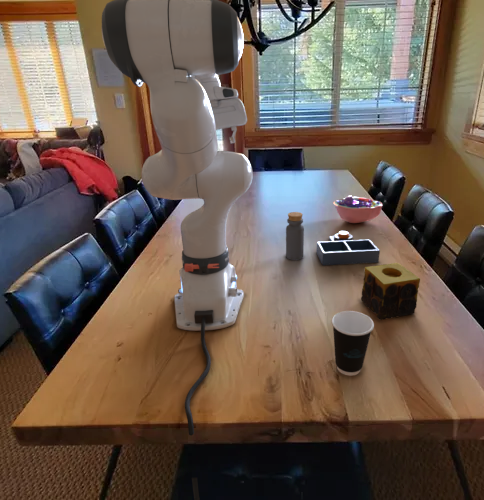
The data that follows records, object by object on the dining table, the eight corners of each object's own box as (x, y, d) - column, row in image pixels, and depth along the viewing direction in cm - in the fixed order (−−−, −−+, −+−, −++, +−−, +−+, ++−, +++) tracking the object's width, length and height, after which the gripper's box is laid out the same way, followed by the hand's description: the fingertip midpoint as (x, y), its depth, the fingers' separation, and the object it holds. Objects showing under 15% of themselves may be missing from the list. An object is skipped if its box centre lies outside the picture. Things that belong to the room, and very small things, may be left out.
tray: (378, 262, 121) (379, 250, 119) (322, 265, 119) (322, 253, 118) (368, 250, 129) (369, 239, 128) (316, 253, 128) (316, 241, 126)
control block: (357, 248, 131) (358, 240, 130) (335, 249, 131) (335, 241, 129) (349, 238, 140) (350, 230, 139) (328, 239, 140) (329, 231, 139)
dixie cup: (349, 387, 71) (353, 339, 66) (320, 364, 77) (323, 319, 72) (377, 370, 75) (382, 324, 71) (347, 349, 81) (351, 306, 76)
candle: (379, 321, 90) (383, 285, 86) (359, 300, 99) (362, 266, 95) (416, 314, 93) (422, 279, 89) (393, 294, 102) (397, 261, 98)
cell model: (386, 228, 150) (389, 200, 145) (336, 229, 150) (337, 201, 145) (374, 214, 165) (377, 189, 161) (329, 215, 165) (331, 190, 161)
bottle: (292, 251, 130) (293, 210, 124) (306, 255, 126) (307, 213, 120) (282, 257, 125) (282, 214, 120) (296, 261, 122) (297, 218, 116)
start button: (349, 238, 133) (350, 234, 132) (339, 239, 133) (340, 234, 132) (346, 235, 136) (347, 230, 135) (337, 235, 136) (337, 231, 135)
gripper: (169, 100, 103) (181, 151, 106) (242, 89, 105) (251, 139, 108) (171, 104, 109) (182, 152, 112) (240, 93, 111) (249, 140, 115)
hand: (217, 146), depth 110 cm, fingers open, 8 cm apart
